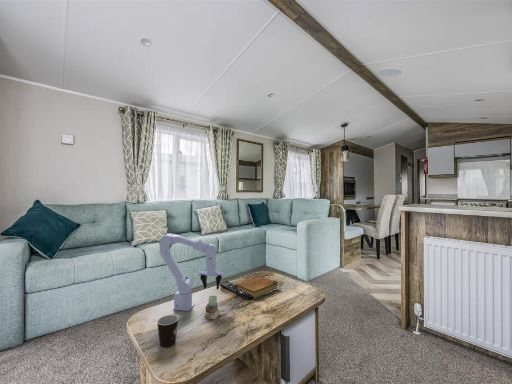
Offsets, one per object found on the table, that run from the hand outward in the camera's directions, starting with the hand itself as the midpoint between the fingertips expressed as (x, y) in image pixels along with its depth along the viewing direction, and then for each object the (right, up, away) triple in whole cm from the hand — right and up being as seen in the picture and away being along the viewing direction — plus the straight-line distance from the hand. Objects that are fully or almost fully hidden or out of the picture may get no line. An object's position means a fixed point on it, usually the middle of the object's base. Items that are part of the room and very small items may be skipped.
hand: (211, 288), depth 138 cm
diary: (+27, -12, +23) cm, 37 cm away
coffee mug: (-12, -10, -34) cm, 37 cm away
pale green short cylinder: (+3, -4, -11) cm, 12 cm away
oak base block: (+2, -11, -11) cm, 16 cm away
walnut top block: (+2, -8, -11) cm, 13 cm away
